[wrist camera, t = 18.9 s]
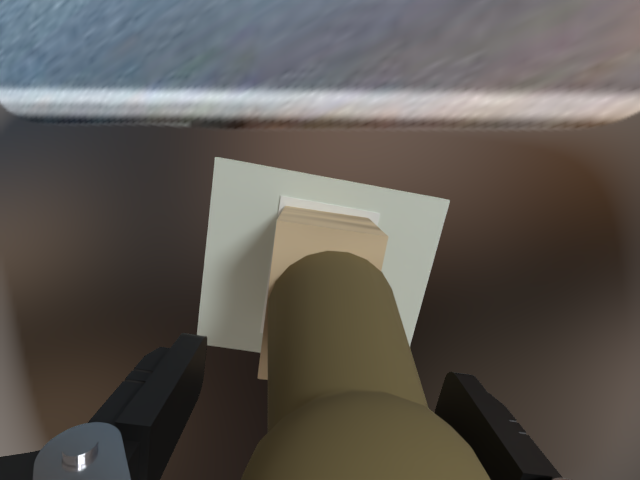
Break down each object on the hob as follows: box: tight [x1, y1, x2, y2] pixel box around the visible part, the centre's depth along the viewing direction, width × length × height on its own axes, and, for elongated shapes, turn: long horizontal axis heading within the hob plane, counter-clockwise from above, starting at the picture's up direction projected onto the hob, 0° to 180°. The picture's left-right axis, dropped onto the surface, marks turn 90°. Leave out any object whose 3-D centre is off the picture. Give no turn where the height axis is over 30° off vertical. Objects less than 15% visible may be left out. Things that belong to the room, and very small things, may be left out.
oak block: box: [258, 206, 388, 380], centre depth 17 cm, size 8×5×5 cm, turn 171°
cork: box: [241, 251, 491, 480], centre depth 10 cm, size 6×6×11 cm
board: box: [197, 157, 450, 353], centre depth 20 cm, size 12×14×1 cm
